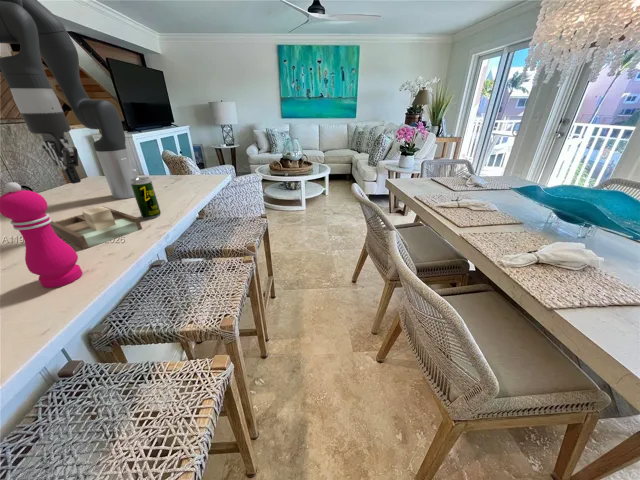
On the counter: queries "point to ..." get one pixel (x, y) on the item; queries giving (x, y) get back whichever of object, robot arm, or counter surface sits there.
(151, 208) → the beer can
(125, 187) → the robot arm
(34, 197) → the pepper mill
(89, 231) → the box
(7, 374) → the counter surface
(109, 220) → the maple block
